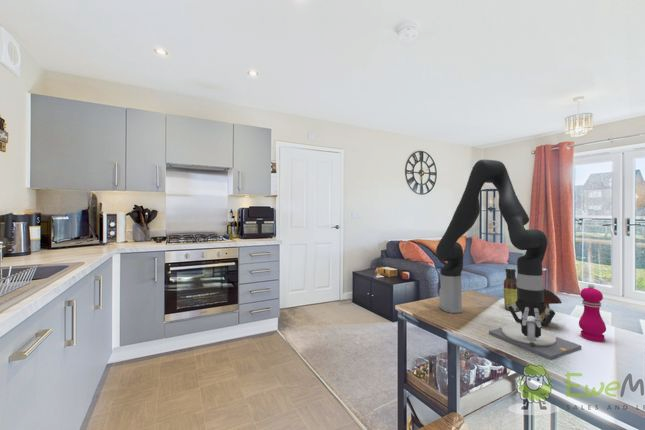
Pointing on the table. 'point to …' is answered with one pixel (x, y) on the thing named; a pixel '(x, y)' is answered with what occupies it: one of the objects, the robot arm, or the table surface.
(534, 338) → the cam dial
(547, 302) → the decorative mushroom
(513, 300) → the sauce bottle
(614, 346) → the table surface
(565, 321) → the table surface
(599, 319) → the pepper mill
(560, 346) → the dial base
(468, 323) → the table surface
